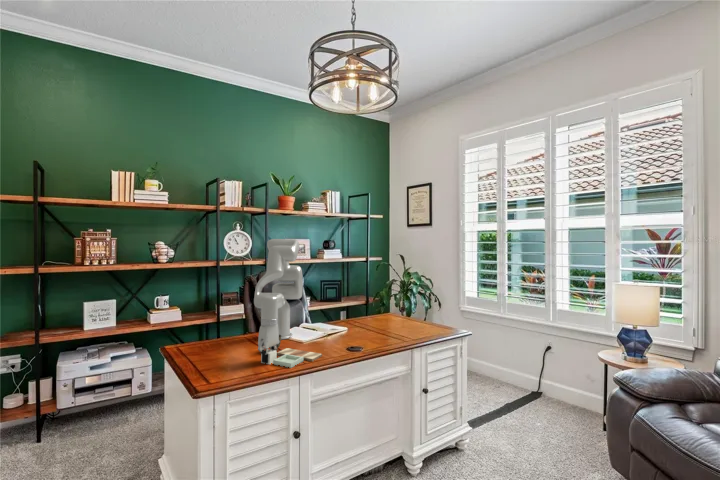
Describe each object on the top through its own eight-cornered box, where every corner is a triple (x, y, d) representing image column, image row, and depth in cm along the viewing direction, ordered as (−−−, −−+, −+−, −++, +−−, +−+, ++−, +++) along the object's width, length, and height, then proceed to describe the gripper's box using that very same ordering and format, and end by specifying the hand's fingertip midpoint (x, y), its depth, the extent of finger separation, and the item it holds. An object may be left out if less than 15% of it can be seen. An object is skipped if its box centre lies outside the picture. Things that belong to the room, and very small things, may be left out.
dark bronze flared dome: (267, 349, 193) (267, 333, 193) (281, 348, 194) (282, 333, 194) (265, 353, 186) (265, 337, 185) (280, 353, 186) (280, 337, 186)
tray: (273, 364, 170) (273, 360, 170) (286, 358, 179) (286, 354, 179) (291, 368, 166) (291, 363, 166) (303, 361, 175) (303, 357, 175)
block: (261, 362, 172) (261, 351, 172) (268, 359, 177) (268, 348, 177) (269, 364, 170) (269, 353, 170) (276, 361, 175) (276, 350, 175)
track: (276, 355, 183) (276, 352, 183) (287, 350, 192) (287, 347, 192) (312, 361, 175) (312, 359, 175) (322, 356, 183) (322, 353, 183)
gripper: (274, 317, 183) (273, 354, 183) (250, 325, 167) (250, 365, 167) (286, 319, 179) (286, 356, 180) (263, 327, 164) (263, 367, 164)
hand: (268, 360), depth 173 cm, fingers closed on block, 4 cm apart
